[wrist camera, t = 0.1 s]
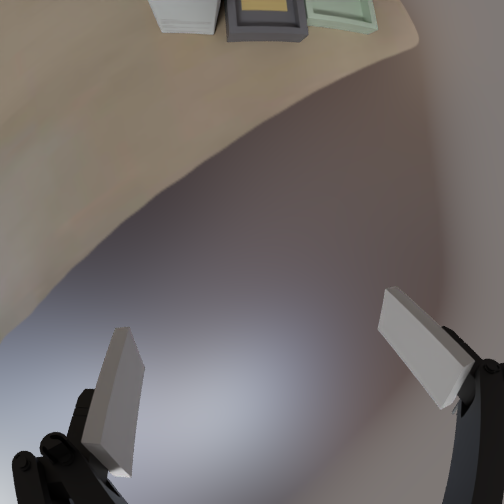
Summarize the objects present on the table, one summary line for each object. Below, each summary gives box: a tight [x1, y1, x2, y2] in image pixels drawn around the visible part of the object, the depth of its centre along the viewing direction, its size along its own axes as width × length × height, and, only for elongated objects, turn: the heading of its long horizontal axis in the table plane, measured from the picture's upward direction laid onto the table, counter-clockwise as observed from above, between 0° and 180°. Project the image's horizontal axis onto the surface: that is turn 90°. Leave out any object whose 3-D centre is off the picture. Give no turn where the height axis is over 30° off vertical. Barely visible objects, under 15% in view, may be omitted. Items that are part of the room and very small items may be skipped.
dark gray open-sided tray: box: [224, 0, 308, 42], centre depth 28 cm, size 11×10×4 cm
